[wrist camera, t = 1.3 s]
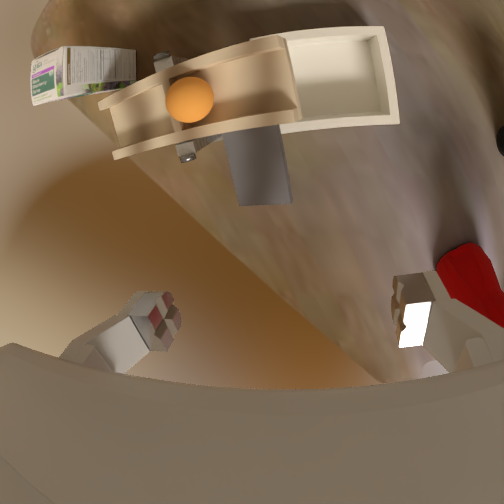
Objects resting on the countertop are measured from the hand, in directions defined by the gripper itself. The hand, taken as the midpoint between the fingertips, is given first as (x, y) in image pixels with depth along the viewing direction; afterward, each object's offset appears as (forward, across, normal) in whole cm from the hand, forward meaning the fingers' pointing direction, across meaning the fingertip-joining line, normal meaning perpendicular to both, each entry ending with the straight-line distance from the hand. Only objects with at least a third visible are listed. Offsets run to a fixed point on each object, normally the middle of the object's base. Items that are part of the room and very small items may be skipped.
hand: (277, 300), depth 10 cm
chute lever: (+23, +8, -5) cm, 25 cm away
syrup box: (+27, +21, -18) cm, 39 cm away
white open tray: (+28, -4, -9) cm, 30 cm away
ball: (+15, +7, -8) cm, 19 cm away
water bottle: (+30, -23, +20) cm, 43 cm away
